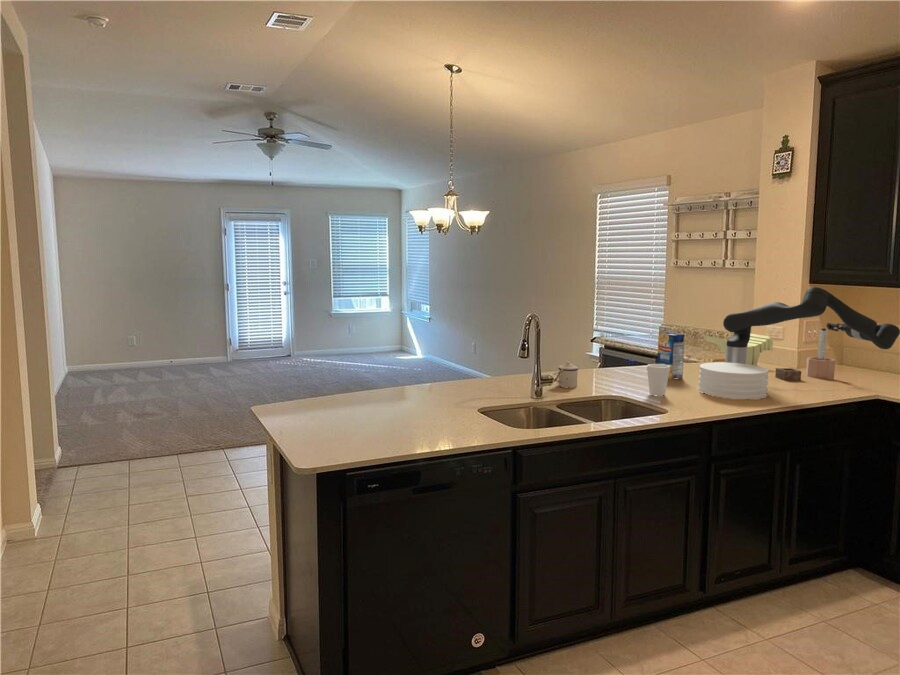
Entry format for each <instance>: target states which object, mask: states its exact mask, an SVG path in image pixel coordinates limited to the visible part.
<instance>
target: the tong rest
mask: <svg viewBox="0 0 900 675" xmlns="http://www.w3.org/2000/svg"><path fill="white" fill-rule="evenodd" d="M774 378H776V379H778V380H781V381H786V382H787V381H789V382H790V381H794V382H795V381H796V382H797V381H800V382H801V380H802V370H799V369H795V368H792V367H776V368H775V377H774Z"/></svg>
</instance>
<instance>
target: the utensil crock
mask: <svg viewBox="0 0 900 675" xmlns="http://www.w3.org/2000/svg"><path fill="white" fill-rule="evenodd" d="M835 367H836V360H835V359H834V358H828V357H825V361H824V360H817V357H816V356H812V357H811V356H809V357H806V368H805V369H806V371H805V376H807V377H810V378H815V379H817V378H818V379H828V380H831V381H834V380H835V369H836V368H835Z"/></svg>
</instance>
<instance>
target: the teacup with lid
mask: <svg viewBox="0 0 900 675" xmlns="http://www.w3.org/2000/svg"><path fill="white" fill-rule="evenodd" d="M561 369H564V371H563V372H562V374H561V375H560V376H559V375H558V374H559V373H558V372H559V370H561ZM578 371H579V367H577V366H576V365H574V364H573V363H571V361H566V362H565V363H564V364H561V365H559V366H558V371H556V372H555V373H554V374H553V376H554V375H556V374H557V373H558V374H557V375H558V376H559V378H558V377H557V378H558V379H557V380H556V381H555V382H557V383H558V384H557V385H558V387H559V386H561V387H560V388H562V387H575V388H577V387H578ZM557 375H556V376H557Z"/></svg>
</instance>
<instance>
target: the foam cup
mask: <svg viewBox="0 0 900 675" xmlns="http://www.w3.org/2000/svg"><path fill="white" fill-rule="evenodd" d="M646 371H647V380H648V391H649V395H650V394H652V395H657V396H656V397H664V396H663V395H665V396H666V391H667V386H668V381H669V379H668V376H669V372H670V366H669V365H664V364H657V363H649V364H647V365H646ZM652 395H651V396H652Z"/></svg>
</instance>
